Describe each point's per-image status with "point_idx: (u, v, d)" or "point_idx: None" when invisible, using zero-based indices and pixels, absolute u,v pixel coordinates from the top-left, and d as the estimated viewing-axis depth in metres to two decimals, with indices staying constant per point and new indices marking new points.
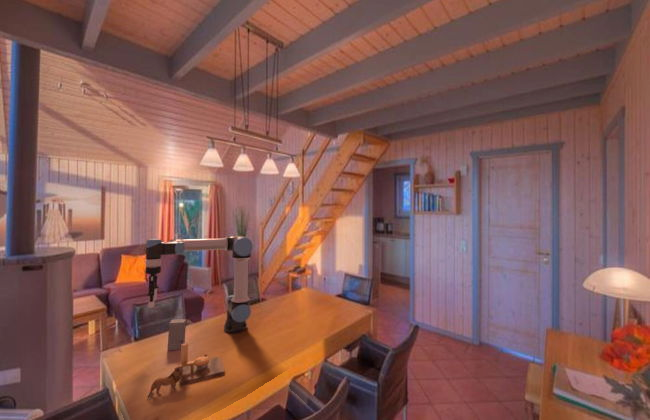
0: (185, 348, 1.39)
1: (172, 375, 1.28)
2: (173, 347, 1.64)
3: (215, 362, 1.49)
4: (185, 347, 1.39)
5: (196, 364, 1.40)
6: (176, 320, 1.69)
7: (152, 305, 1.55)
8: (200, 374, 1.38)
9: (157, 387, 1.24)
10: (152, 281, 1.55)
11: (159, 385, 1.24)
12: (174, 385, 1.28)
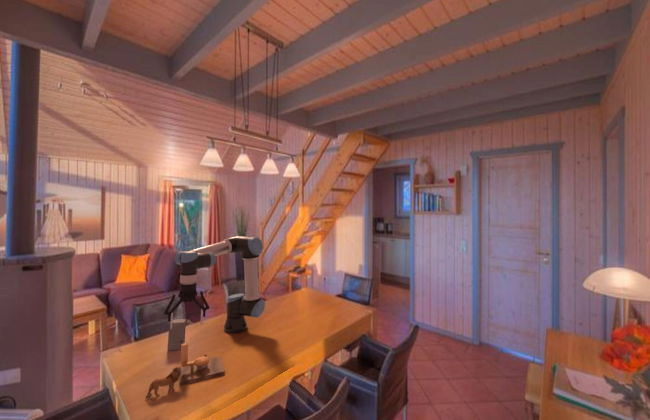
0: (185, 348, 1.39)
1: (170, 375, 1.28)
2: (173, 347, 1.64)
3: (215, 362, 1.49)
4: (185, 347, 1.39)
5: (196, 364, 1.40)
6: (176, 320, 1.69)
7: None
8: (200, 374, 1.38)
9: (155, 388, 1.23)
10: None
11: (157, 386, 1.24)
12: (172, 385, 1.27)
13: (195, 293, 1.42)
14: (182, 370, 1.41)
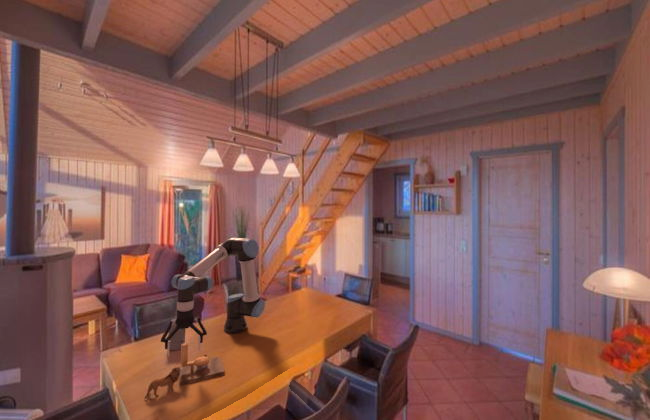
0: (185, 348, 1.39)
1: (169, 376, 1.27)
2: (173, 347, 1.64)
3: (215, 362, 1.49)
4: (185, 347, 1.39)
5: (196, 364, 1.40)
6: None
7: (167, 353, 1.36)
8: (200, 374, 1.38)
9: (154, 388, 1.23)
10: (168, 326, 1.36)
11: (156, 386, 1.24)
12: (171, 386, 1.27)
13: (192, 319, 1.41)
14: (182, 370, 1.41)
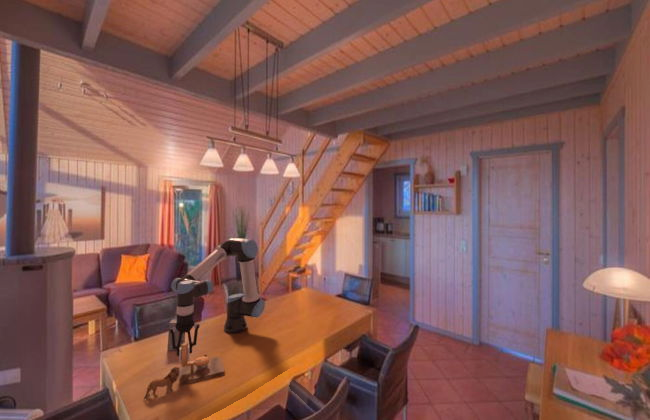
0: (185, 348, 1.39)
1: (168, 376, 1.27)
2: None
3: (215, 362, 1.49)
4: (185, 347, 1.39)
5: (196, 364, 1.40)
6: (176, 320, 1.69)
7: (179, 360, 1.38)
8: (200, 374, 1.38)
9: (153, 388, 1.23)
10: (171, 333, 1.37)
11: (155, 386, 1.23)
12: (170, 386, 1.27)
13: (192, 324, 1.41)
14: (182, 370, 1.41)
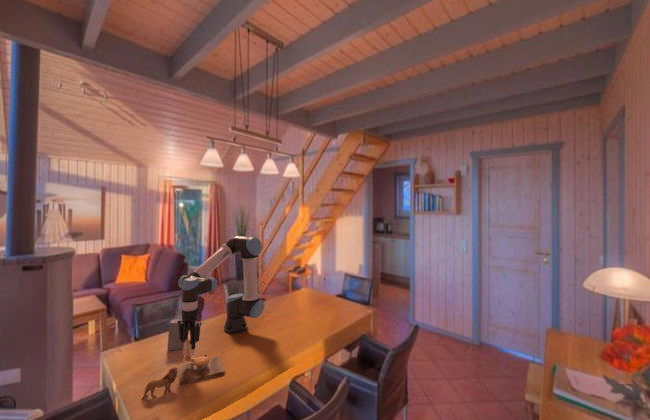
0: (187, 343, 1.44)
1: (166, 376, 1.27)
2: (173, 347, 1.64)
3: (215, 362, 1.49)
4: (187, 342, 1.44)
5: (194, 362, 1.42)
6: (176, 320, 1.69)
7: None
8: (200, 374, 1.38)
9: (151, 389, 1.22)
10: None
11: (153, 387, 1.23)
12: (169, 386, 1.27)
13: (193, 321, 1.44)
14: (182, 370, 1.41)
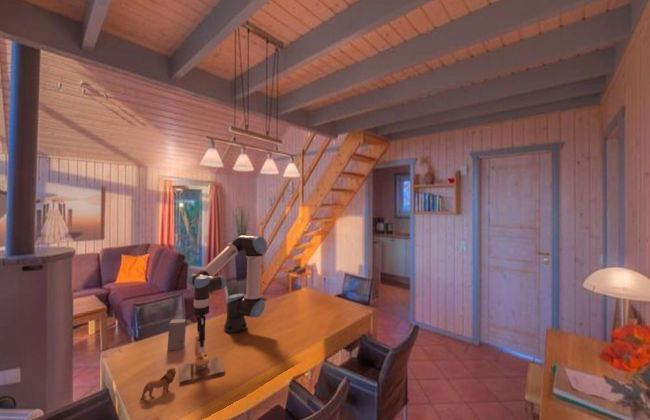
0: (195, 339, 1.49)
1: (165, 377, 1.26)
2: (173, 347, 1.64)
3: (215, 362, 1.49)
4: (195, 338, 1.49)
5: None
6: (176, 320, 1.69)
7: None
8: (200, 374, 1.38)
9: (150, 390, 1.22)
10: None
11: (152, 387, 1.22)
12: (167, 387, 1.26)
13: (199, 318, 1.47)
14: (182, 370, 1.41)
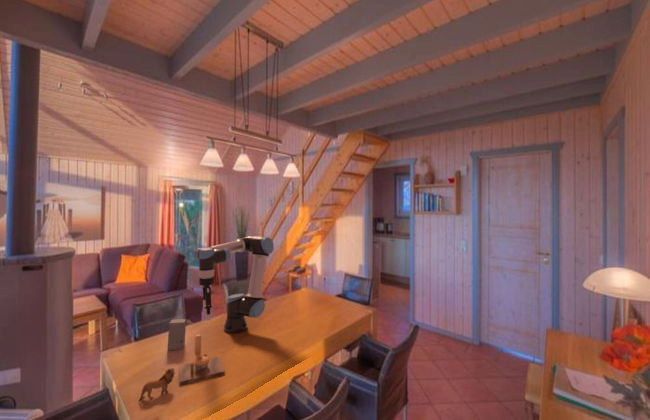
0: (195, 339, 1.49)
1: (163, 377, 1.26)
2: (173, 347, 1.64)
3: (215, 362, 1.49)
4: (195, 338, 1.49)
5: None
6: (176, 320, 1.69)
7: None
8: (200, 374, 1.38)
9: (148, 390, 1.22)
10: None
11: (150, 388, 1.22)
12: (166, 387, 1.26)
13: (205, 288, 1.52)
14: (182, 370, 1.41)
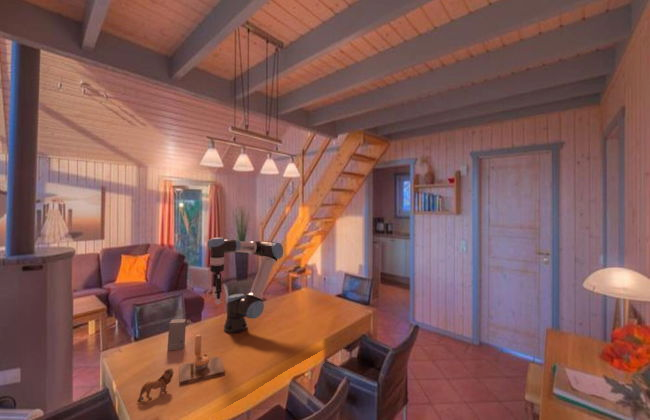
0: (195, 339, 1.49)
1: (162, 378, 1.26)
2: (173, 347, 1.64)
3: (215, 362, 1.49)
4: (195, 338, 1.49)
5: None
6: (176, 320, 1.69)
7: None
8: (200, 374, 1.38)
9: (147, 391, 1.21)
10: None
11: (149, 388, 1.22)
12: (164, 387, 1.26)
13: (215, 274, 1.62)
14: (182, 370, 1.41)
